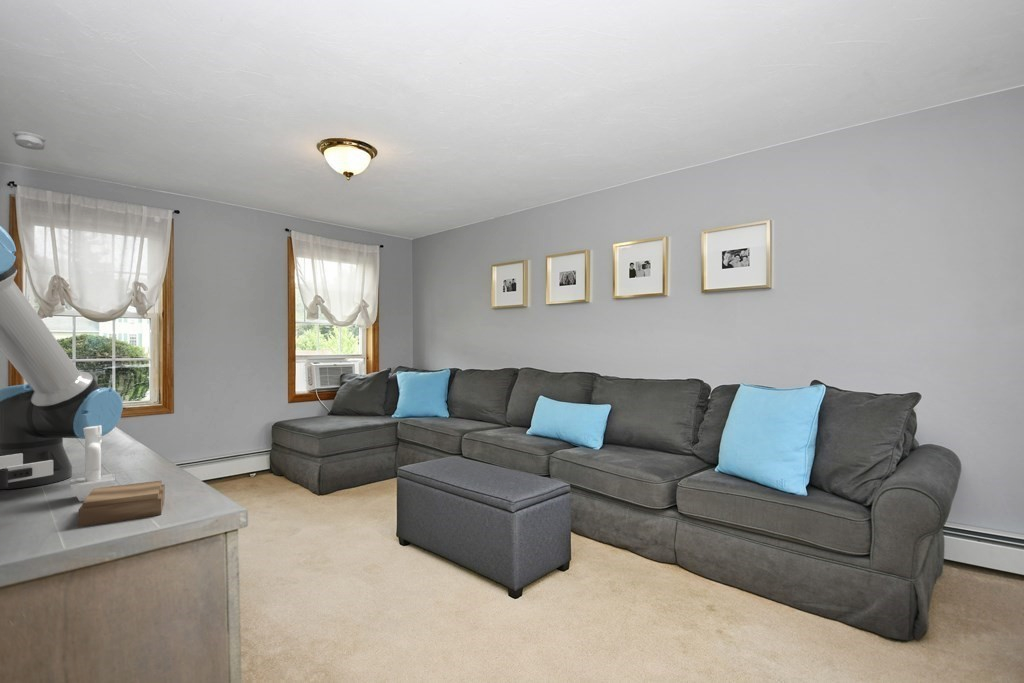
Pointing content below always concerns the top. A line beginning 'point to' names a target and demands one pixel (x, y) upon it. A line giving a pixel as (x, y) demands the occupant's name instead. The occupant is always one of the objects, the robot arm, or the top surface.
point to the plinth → (122, 503)
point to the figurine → (91, 466)
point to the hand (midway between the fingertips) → (37, 463)
